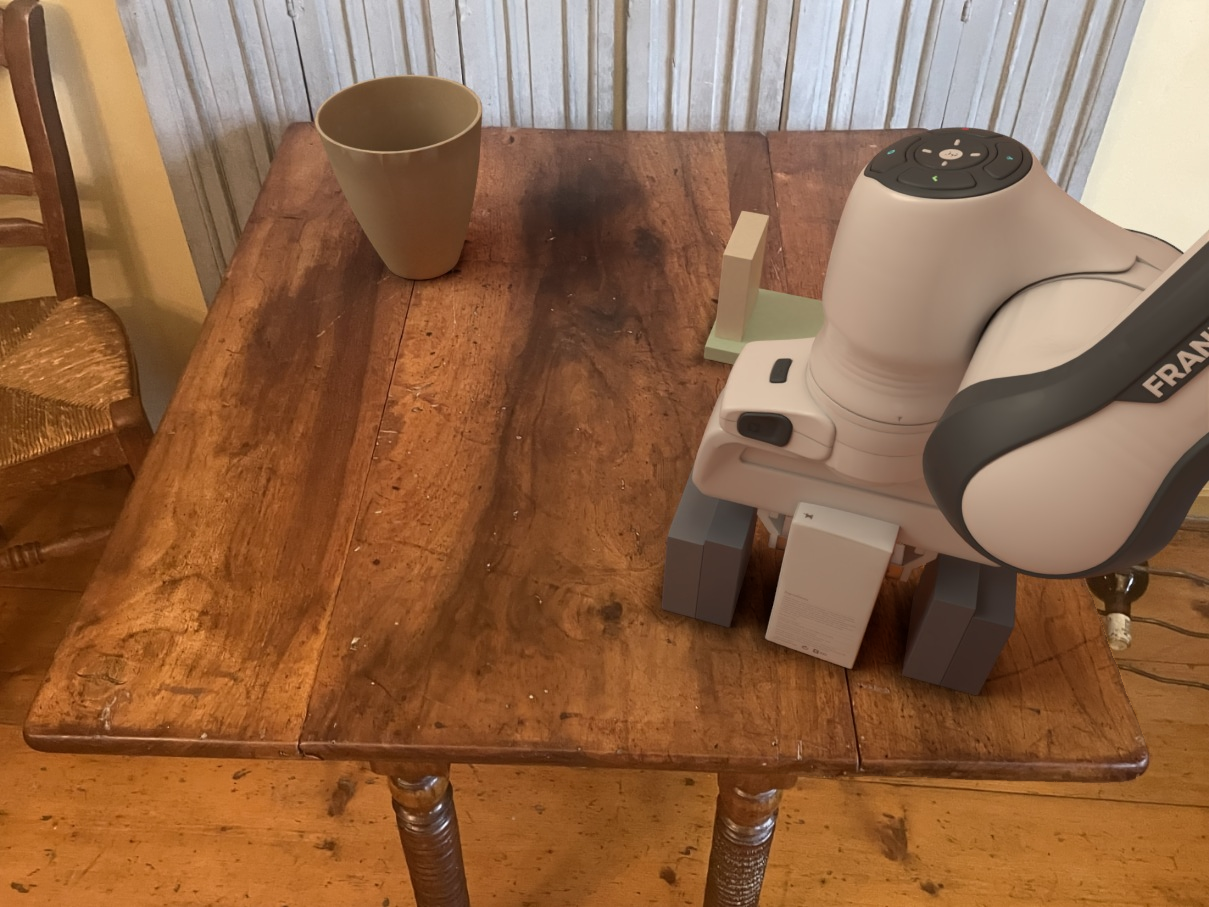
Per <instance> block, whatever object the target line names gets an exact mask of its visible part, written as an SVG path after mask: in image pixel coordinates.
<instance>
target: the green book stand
mask: <svg viewBox="0 0 1209 907" xmlns="http://www.w3.org/2000/svg"><path fill="white" fill-rule="evenodd" d="M769 221H770V215H768V214H763V213H758V212H757V213H756V212H751V211H747V210H741V212H740V214H739V216H738V219H737V222H736V223H735V226H734V228H733V230H732V233H731V236H730V238H729V240H728V241H727V242H728V243H727V245H726V247H725V249H724V252H723V254H722V263H721V272H720V281H719V290H718V300H717V310H716V317H715V321H714V322H713V326H712V328H711V330H710V333H709V335H708V338H707V340H706V343H705V345H704V351H703V352H704V353H703V359H704V360H710V361H714V362H718V363H719V362H720V363H723V364H728V365H732V366H733V365H734V363H735V361H736V359H737V358H738V356H739V354H740V352H741V351H742V349H743V348H744V346H745V345H746V344H748V343H750V342H754V341H769V340H789V339H802V338H812V337H816V336H817V334H818V332H819V331H820V329H821V328H822V326H823V323H824V311H823V305H822V299H821V300H820V299H815V298H811V297H805V296H800V295H795V294H791V293H785V292H781V291H777V290H776V291H775V290H771V289H770V290H769V289H765V288H760V286H761V278H762V270H763V264H764V258H765V250H766V244H767V243H766V242H767V236H768V229H769V223H770V222H769Z"/></svg>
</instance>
